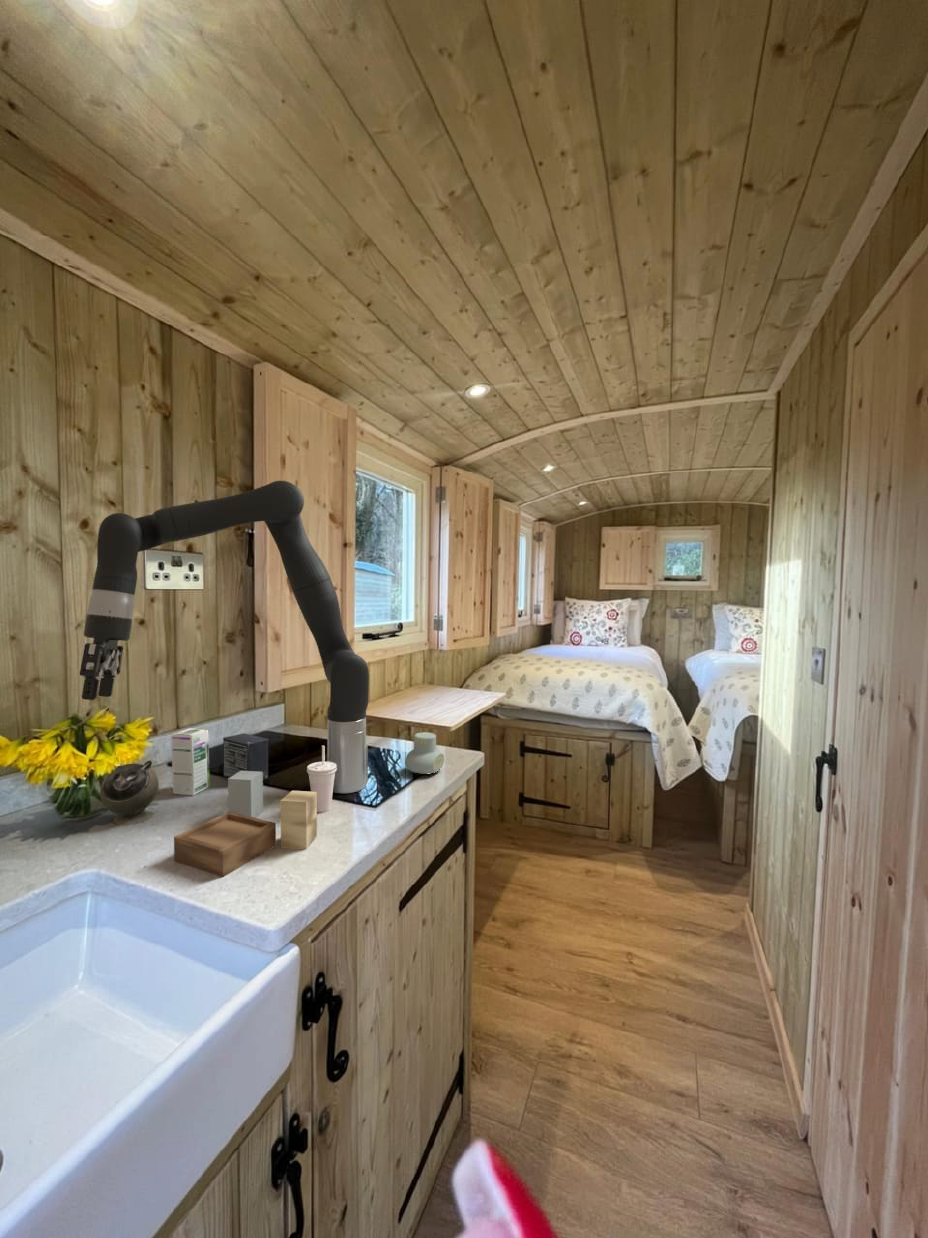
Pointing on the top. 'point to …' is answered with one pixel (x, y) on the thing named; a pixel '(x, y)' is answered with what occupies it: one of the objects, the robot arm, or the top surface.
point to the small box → (245, 754)
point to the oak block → (298, 819)
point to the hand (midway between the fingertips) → (97, 698)
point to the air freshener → (424, 754)
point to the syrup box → (190, 761)
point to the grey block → (246, 793)
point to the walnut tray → (224, 843)
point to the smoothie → (322, 781)
